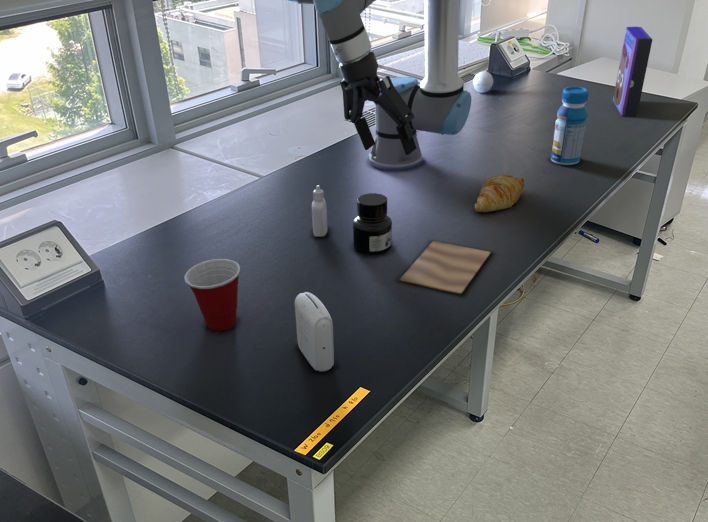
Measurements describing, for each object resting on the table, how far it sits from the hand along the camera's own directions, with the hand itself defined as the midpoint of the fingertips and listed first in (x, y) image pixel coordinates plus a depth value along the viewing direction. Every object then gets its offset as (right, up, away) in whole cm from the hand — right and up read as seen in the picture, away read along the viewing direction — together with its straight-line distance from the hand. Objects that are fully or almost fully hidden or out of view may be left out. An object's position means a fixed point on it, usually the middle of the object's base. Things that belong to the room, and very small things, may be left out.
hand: (390, 149), depth 159 cm
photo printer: (-16, -46, -24) cm, 54 cm away
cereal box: (+86, +39, +86) cm, 128 cm away
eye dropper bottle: (-16, -15, +18) cm, 28 cm away
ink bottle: (-3, -20, +11) cm, 23 cm away
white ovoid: (+43, +51, +106) cm, 125 cm away
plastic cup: (-35, -39, -14) cm, 54 cm away
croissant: (+30, -6, +29) cm, 42 cm away
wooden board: (+13, -26, +2) cm, 29 cm away
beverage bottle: (+54, +11, +50) cm, 75 cm away
